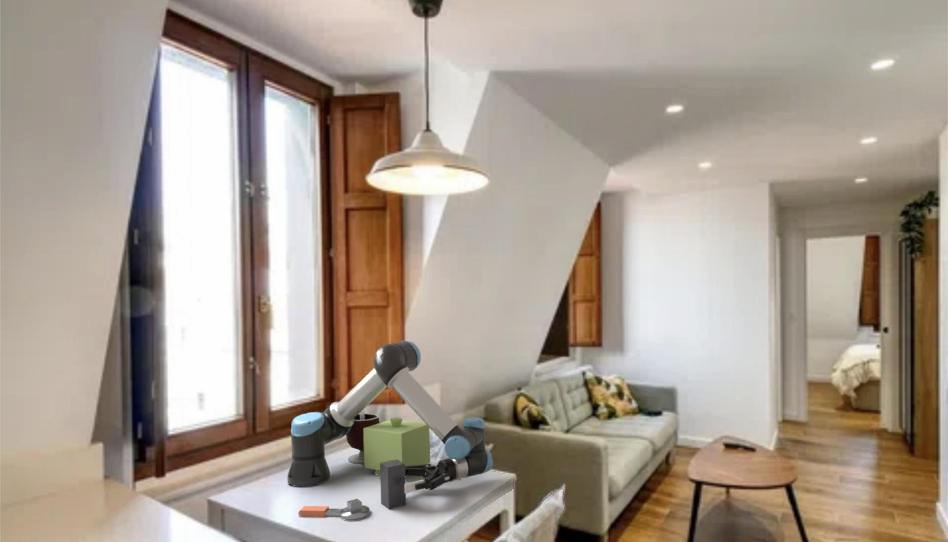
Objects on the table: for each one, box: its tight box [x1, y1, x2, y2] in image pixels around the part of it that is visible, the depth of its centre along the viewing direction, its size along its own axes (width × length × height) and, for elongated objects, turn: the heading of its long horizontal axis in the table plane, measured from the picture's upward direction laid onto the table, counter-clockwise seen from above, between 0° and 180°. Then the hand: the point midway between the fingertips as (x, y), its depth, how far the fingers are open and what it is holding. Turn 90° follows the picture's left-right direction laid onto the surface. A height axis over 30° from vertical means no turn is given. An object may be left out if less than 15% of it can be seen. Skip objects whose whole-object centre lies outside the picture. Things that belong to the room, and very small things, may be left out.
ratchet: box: [297, 498, 371, 521], centre depth 169 cm, size 22×9×4 cm, turn 83°
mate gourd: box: [345, 408, 381, 464], centre depth 226 cm, size 16×14×20 cm
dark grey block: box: [379, 459, 407, 510], centre depth 176 cm, size 6×6×13 cm
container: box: [363, 417, 431, 475], centre depth 208 cm, size 19×16×20 cm
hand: (395, 482), depth 175 cm, fingers open, 13 cm apart
